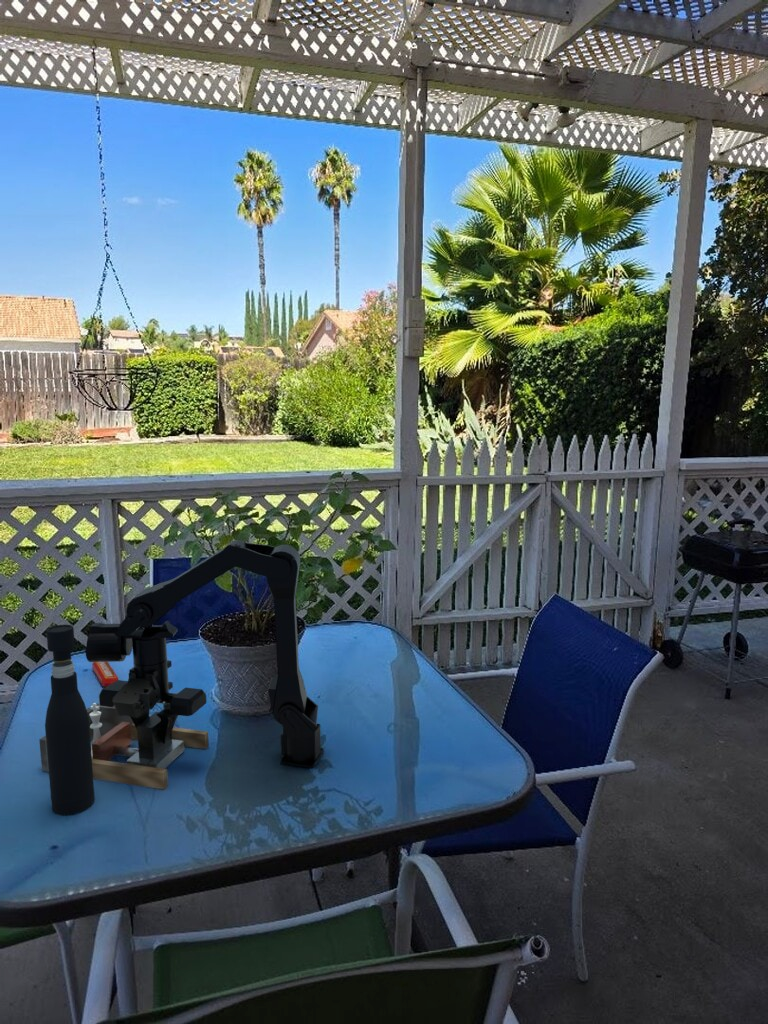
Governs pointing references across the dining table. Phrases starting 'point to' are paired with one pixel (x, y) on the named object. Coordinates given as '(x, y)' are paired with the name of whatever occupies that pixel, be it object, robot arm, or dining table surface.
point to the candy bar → (104, 673)
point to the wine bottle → (67, 731)
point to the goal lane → (128, 771)
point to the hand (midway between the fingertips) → (155, 741)
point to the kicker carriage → (139, 744)
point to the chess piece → (95, 723)
